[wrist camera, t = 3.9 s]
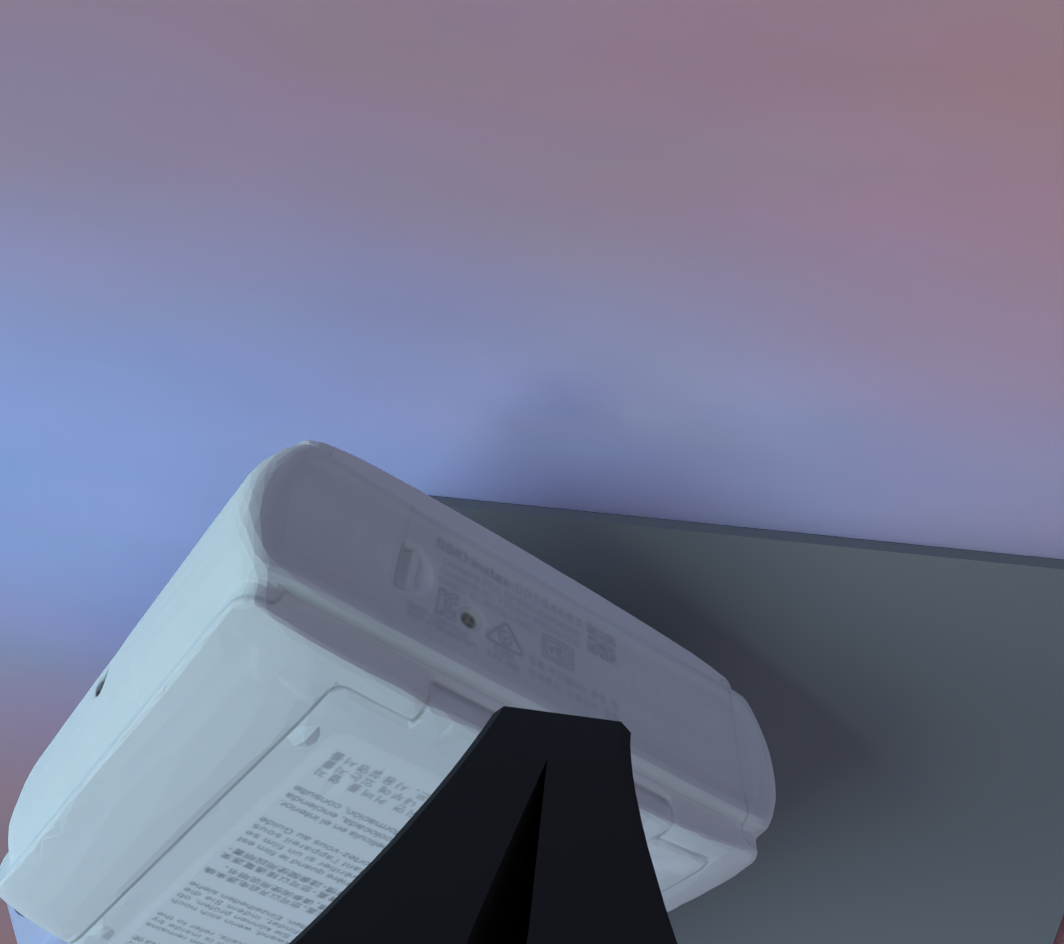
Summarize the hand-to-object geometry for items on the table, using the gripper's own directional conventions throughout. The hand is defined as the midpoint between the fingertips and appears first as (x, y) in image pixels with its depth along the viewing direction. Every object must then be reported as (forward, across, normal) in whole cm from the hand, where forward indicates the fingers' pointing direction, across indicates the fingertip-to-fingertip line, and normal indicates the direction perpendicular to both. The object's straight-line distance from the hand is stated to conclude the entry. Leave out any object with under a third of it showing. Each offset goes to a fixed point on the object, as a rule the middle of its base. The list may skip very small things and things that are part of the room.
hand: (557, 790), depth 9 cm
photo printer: (+4, +1, +1) cm, 4 cm away
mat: (+9, -2, +7) cm, 11 cm away
